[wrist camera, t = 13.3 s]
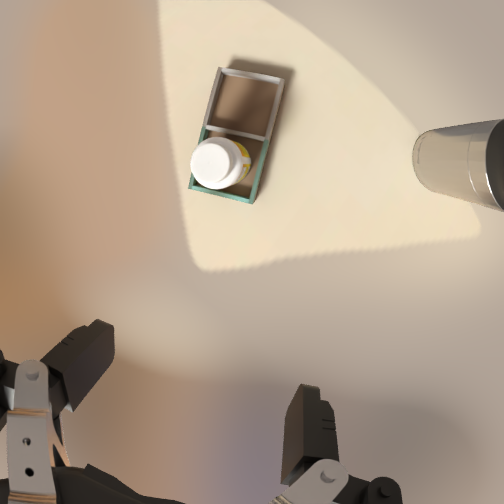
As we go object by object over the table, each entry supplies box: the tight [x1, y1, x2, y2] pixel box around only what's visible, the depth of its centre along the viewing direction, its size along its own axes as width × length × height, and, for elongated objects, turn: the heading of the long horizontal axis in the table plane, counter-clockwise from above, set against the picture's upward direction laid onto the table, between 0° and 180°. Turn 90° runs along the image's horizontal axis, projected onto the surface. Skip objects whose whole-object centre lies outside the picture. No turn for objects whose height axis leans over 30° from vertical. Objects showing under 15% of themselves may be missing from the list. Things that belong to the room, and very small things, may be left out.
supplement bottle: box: [190, 137, 251, 189], centre depth 32 cm, size 6×6×10 cm
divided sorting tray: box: [188, 67, 285, 204], centre depth 35 cm, size 8×16×3 cm, turn 166°
